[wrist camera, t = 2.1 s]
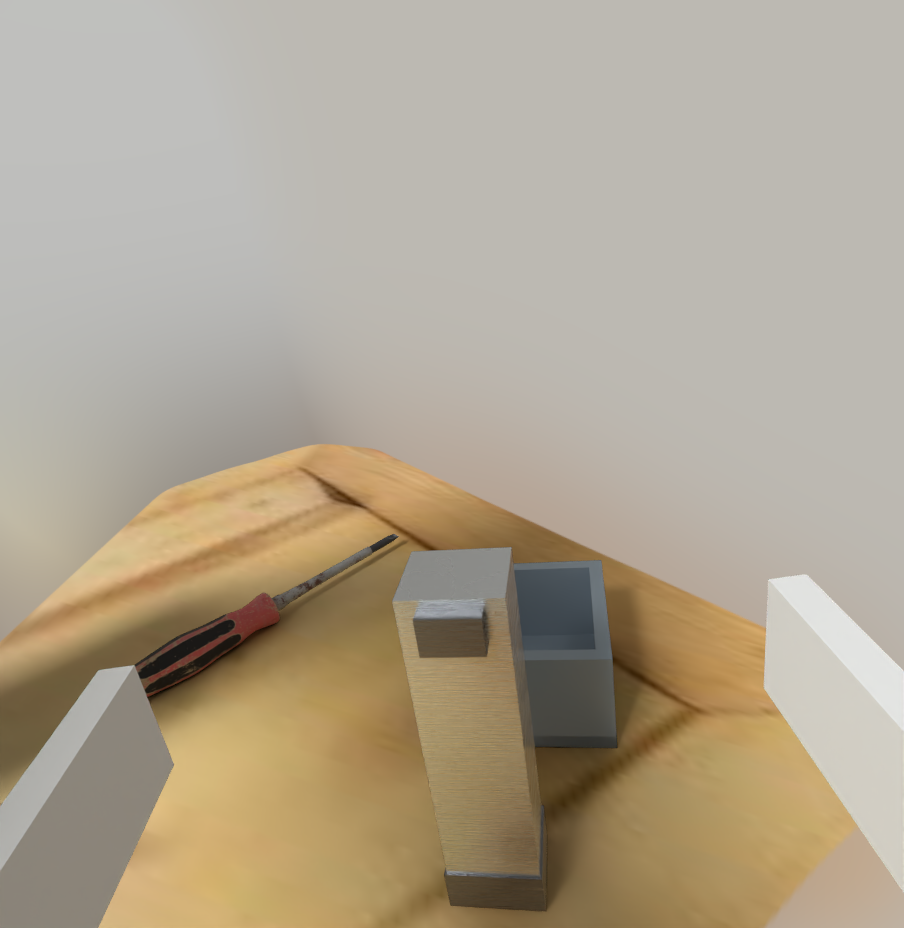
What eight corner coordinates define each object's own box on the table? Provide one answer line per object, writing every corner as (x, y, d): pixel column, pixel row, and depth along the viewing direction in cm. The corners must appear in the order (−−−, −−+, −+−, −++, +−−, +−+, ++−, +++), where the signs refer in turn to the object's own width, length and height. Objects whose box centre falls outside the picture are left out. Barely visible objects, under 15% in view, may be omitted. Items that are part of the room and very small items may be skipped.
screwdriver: (388, 545, 61) (383, 516, 60) (409, 554, 59) (404, 524, 58) (119, 701, 45) (105, 666, 44) (135, 719, 43) (121, 684, 42)
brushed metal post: (448, 917, 29) (385, 611, 23) (461, 832, 32) (409, 550, 26) (545, 923, 28) (507, 608, 22) (547, 835, 32) (514, 545, 25)
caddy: (444, 745, 38) (429, 661, 35) (466, 638, 46) (454, 565, 44) (617, 748, 36) (612, 659, 33) (605, 636, 44) (601, 560, 42)
